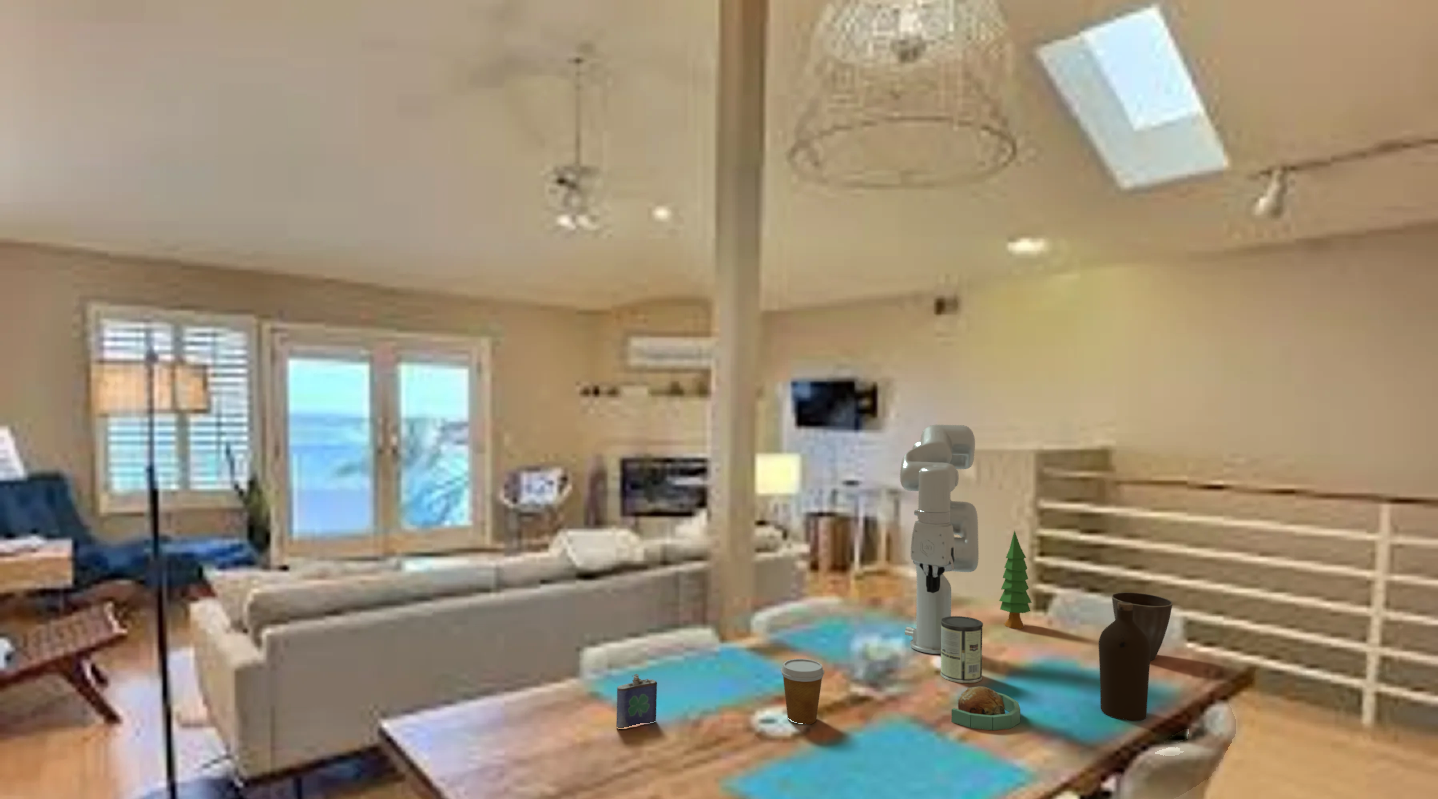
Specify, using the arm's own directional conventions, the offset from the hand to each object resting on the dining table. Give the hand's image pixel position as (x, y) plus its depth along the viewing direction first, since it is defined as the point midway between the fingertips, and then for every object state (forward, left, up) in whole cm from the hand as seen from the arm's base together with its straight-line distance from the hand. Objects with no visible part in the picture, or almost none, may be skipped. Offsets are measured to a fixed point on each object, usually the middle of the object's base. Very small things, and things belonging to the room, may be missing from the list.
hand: (932, 591), depth 202 cm
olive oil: (+39, +16, -24) cm, 49 cm away
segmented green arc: (+20, -8, -23) cm, 32 cm away
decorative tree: (-10, +67, -24) cm, 72 cm away
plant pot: (+28, +63, -24) cm, 73 cm away
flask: (-33, -67, -24) cm, 78 cm away
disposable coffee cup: (-10, -39, -24) cm, 47 cm away
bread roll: (+17, -8, -24) cm, 30 cm away
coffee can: (+1, +12, -24) cm, 27 cm away
